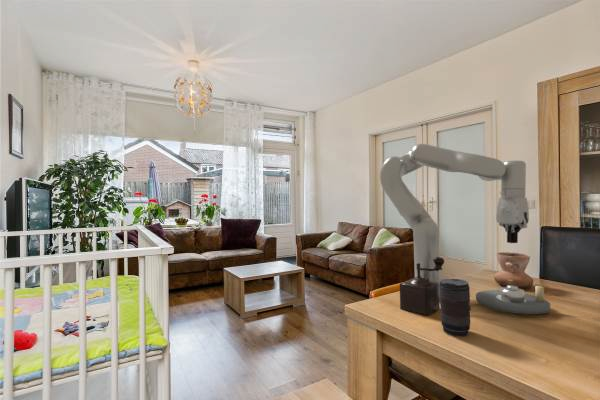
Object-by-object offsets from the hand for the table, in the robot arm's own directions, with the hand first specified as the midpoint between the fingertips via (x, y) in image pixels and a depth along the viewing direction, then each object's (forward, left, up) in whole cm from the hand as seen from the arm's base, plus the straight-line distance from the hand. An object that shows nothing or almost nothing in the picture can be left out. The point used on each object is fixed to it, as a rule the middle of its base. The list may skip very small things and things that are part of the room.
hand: (512, 242), depth 117 cm
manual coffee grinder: (-35, +6, -23) cm, 42 cm away
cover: (-6, -5, -19) cm, 21 cm away
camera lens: (-40, -15, -23) cm, 48 cm away
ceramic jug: (+20, +17, -23) cm, 35 cm away
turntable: (-5, -4, -21) cm, 22 cm away
